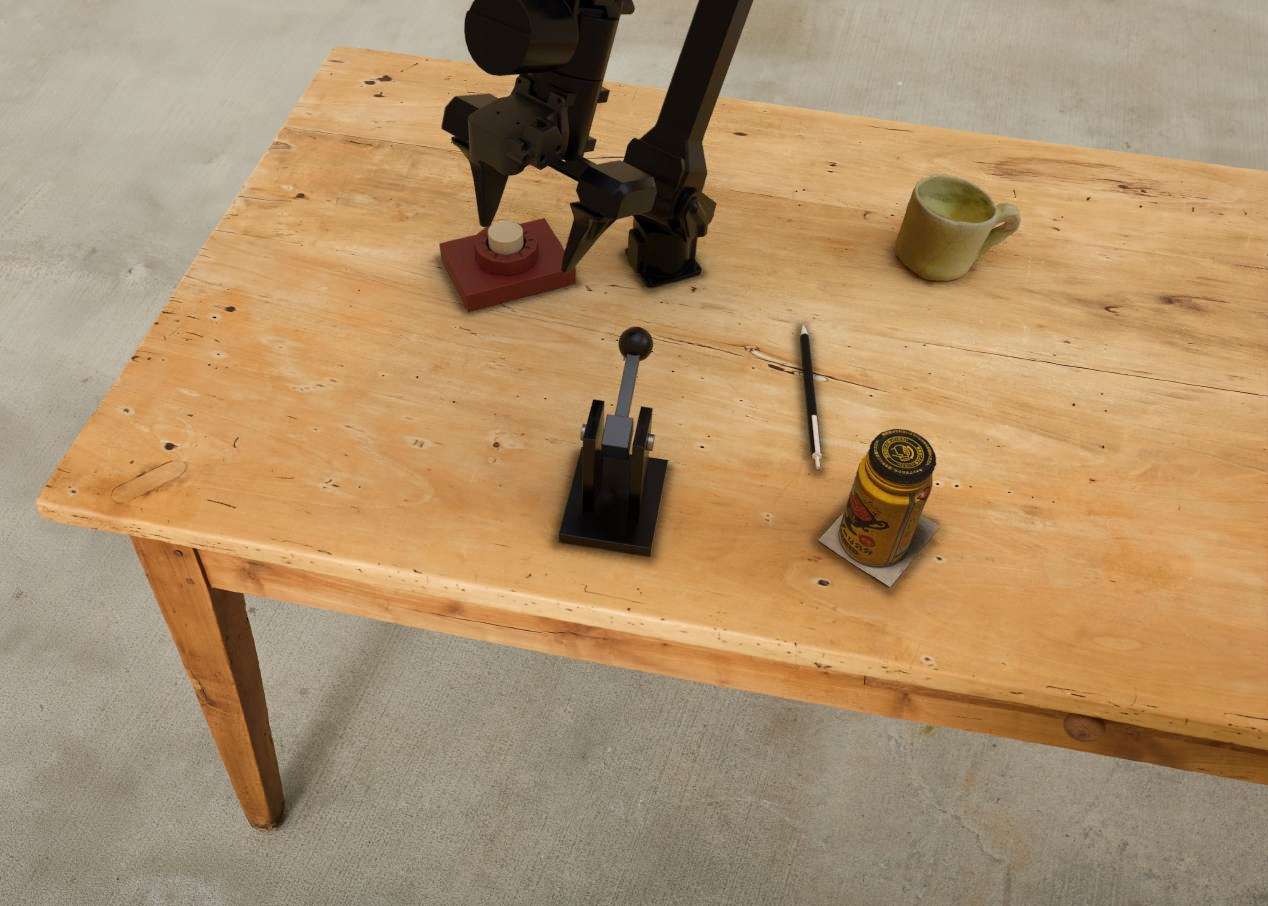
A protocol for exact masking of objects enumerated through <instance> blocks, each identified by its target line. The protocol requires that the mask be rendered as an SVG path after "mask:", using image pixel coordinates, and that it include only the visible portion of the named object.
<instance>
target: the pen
mask: <svg viewBox="0 0 1268 906" xmlns="http://www.w3.org/2000/svg"><path fill="white" fill-rule="evenodd" d="M809 335H810V334H809V333H808V330H807V328H806V325H805V324H802V326H801V331H800V335H799V339H800V340H799V341H800V348H801V349H800V350H801V358H802V367H803V368H802V369H803V370H802V371H803V379H804V389H805V398H806V399H805V400H806V409H807V420H808V429H809V439H810V449H811V459H812V460H814V463H815V469H816V470H819V469H821V466H820V465H821V464H820V463H821V462H820V460H821V459H822V448H821V439H820V437H821V436H820V429H819V419H818V411H817V399H816V390H815V382H814V372H813V362H812V353H811V344H810V336H809Z"/></svg>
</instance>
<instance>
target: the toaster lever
mask: <svg viewBox="0 0 1268 906" xmlns="http://www.w3.org/2000/svg"><path fill="white" fill-rule="evenodd" d="M617 344H618V345H617V346H618V350H619V353H620V355H621V356H622V357H623V358H624V359H625V362H624V367H623V372H622V376H621V381H620V386H619V391H618V397H617V401H616V407H615V411H614V414H611V413H610V414H606V417H605V421H604V432H603V437H602V442H601V450H602V457H608V458H615V459H621V460H628V458H629V454H631V453H630V452H631V449H632V443H633V438H634V433H635V432H634V431H635V429H634V428H635V427H634V425H635V424H634V422H635V421H634V417H630V413H631V408H632V402H633V398H634V392H635V387H636V381H637V377H638V372H639V366H640V362H643V361H645V360H646V359H648V358H649V356H650V355H651V354H652V352H653V349H654V339H653V337H652V335H651V333H650V332H649V331H648V330H647V329H645V328H643V327H641V326H631V327H628V328H626V329H625V330H624V331H622V333H621V334H620V336H619V338H618V343H617Z"/></svg>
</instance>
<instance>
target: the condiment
mask: <svg viewBox="0 0 1268 906" xmlns="http://www.w3.org/2000/svg"><path fill="white" fill-rule="evenodd" d="M936 466H937V455H936V453H935V450H934V448H933V447H932V445H931V444H930V442H929V441H928V440H927V439H926V438H925V437H924V436H922V435H920V434H918V433H917V432H915V431H911V430H910V429H902V428H891V429H888V430H884V431H881V432H880V433H878V435H876V436H875V437H874V439H872V441H871V443H870V444H869V449H868V451H867V452H866V454H865V455H864V456H863V457H862V458H861V460H860V462H859V464H858V466H857V467H858V468H857V470H856V472H855V476H854V479H853V483H852V486H851V489H850V492H849V495H848V499H847V501H846V505H845V508H844V511H843V512H842V513H841V515H840V516H839V517H838V518H837V519H836V520H835V521H834V522H833V524H832V525H830V527H828V529H827V530H826V531H825V532H824V534H822V536H820V538H818V539H817V540H818V542H820V543H821V544H823V545H824V546H826V547H827V548H828V549H830V550H832V551H833V552H835V553H836V554H837V555H839V556H840V557H841V558H843V559H845V560H846V561H847V562H848V563H851V564H853V565H854V566H856V567H857V568H858V569H860V570H862V571H863V572H865V573H866V574H867V575H870V576H871V577H874V578H875V579H877V580H878V581H879V582H881V583H883V584H885V585H886V586H887V587H889V588H891V587H892V586H893V584H894V583H895V582H896V581H897V580H898V578H900V576H901V575H902V574H903V573H904V571H905V570H906V569H907V568H908V567H909V565H910V564H911V563H912V562H913V561H914V559H915V558H916V556H918V554H919V553H920V551H921V550H922V549H923V548H924V547H925V545H927V543H928V542H929V541H930V539H932V537H933V535H934V534H935V533H936V532H937V531H938V530H939V528H940V527H941V525H939V524H938V523H936V522H935V521H932V520H930V519H928V518H927V517H925V516H923V515H922V514H923V512H924V508H925V506H926V504H927V502H928V498H929V496H931V495H930V494H931V492H932V489H933V479H934V478H933V473H934V471H935V468H936Z"/></svg>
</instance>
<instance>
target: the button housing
mask: <svg viewBox="0 0 1268 906" xmlns="http://www.w3.org/2000/svg"><path fill="white" fill-rule="evenodd" d="M517 223H518V224H519V225H520V226H521V227H522V229H523V247H522V249H521V250H520V251H519V252H517V253H514V254H510V255H501V254H496V253H494V252H493V251H492V250H491V249H490V247H489V241H488V229H489V227H490V226H491V225H492V224H491V225H490V226H488V227H483V229H481V230H480V231H478V232H477V233H476V234H473V235H472V234H471V235H468V236H463V237H459V238H455V239H452V240H448V241H443V242H440V243H439V244H438V245H439V253H440V260H441V262H442V264H443V266H444V268H445V270H446V271H447V273H448V276H449V277H450V279H451V282H452V284H453V285H454V288H455V289H456V292H457V293H458V296H459V297H460V299H461V301H462V303H463V305H464V307H465V310H466V311H467V312H468V313H469V312H472V311H477V310H480V309H484V308H488V307H492V306H495V305H500V304H503V303H507V302H511V301H514V300H519V299H523V298H526V297H530V296H533V295H534V296H535V295H537V294H541V293H545V292H548V291H551V290H556V289H560V288H564V287H567V286H570V285H575V284H577V278H576V277H577V276H576V275H577V269H576V268H577V266H575V267H574V269H573V270H572V271H571V272H569V273H566V274H564V273H562V272H561V266H562V259H563V255H564V251H565V248H564V247H563V245H562V243H561V241H560V240H559V238H558V237H557V235H556V234H555V231H554V230H553V229H552V227H551V226H550V224H549V222H548V221H547V219H546V218H545V217H543V218H542V217H541V218H538V219H534V220H530V221H526V222H522V223H519V222H517Z"/></svg>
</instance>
